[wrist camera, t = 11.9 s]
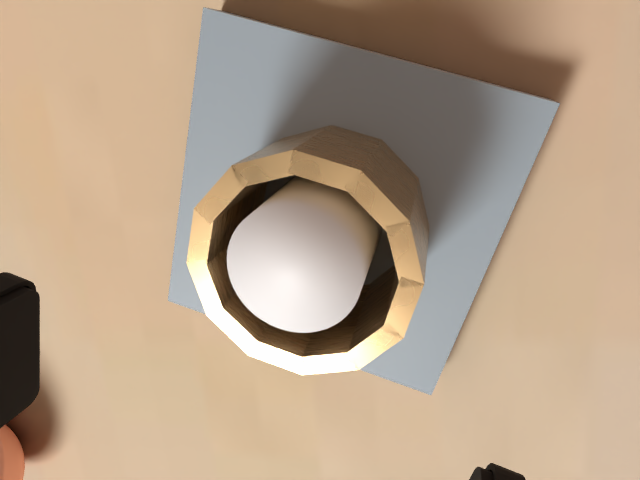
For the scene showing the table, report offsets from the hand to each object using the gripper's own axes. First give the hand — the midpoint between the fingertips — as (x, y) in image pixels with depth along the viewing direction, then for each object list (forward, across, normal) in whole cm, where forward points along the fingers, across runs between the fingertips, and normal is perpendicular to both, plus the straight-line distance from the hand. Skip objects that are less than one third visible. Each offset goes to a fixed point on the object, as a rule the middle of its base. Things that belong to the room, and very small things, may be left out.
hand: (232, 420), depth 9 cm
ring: (+11, +1, 0) cm, 11 cm away
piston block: (+12, +1, 0) cm, 12 cm away
